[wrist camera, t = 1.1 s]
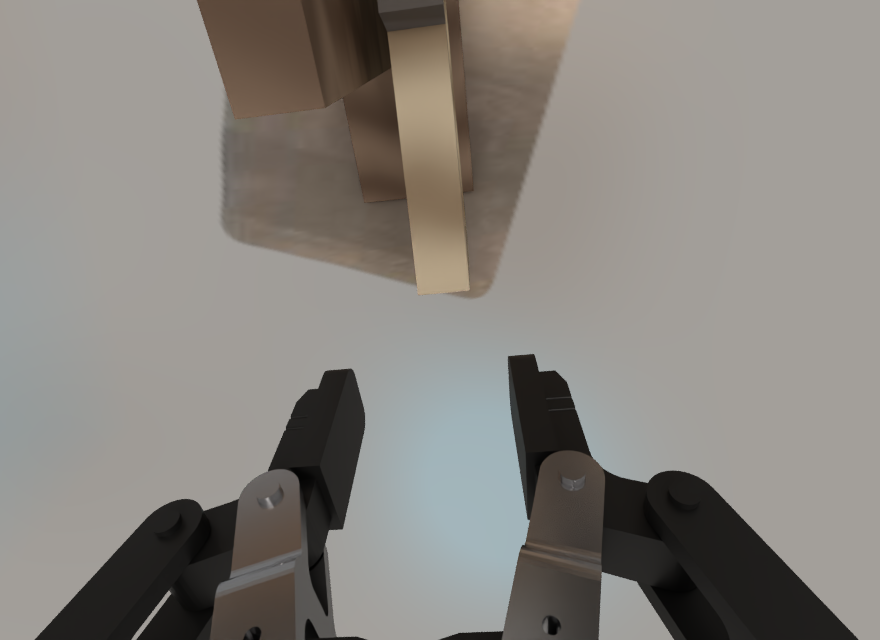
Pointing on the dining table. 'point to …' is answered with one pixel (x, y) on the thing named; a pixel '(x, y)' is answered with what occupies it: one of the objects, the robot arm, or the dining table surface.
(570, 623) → the robot arm
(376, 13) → the stand
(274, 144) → the dining table surface
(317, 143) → the dining table surface
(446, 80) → the frame
